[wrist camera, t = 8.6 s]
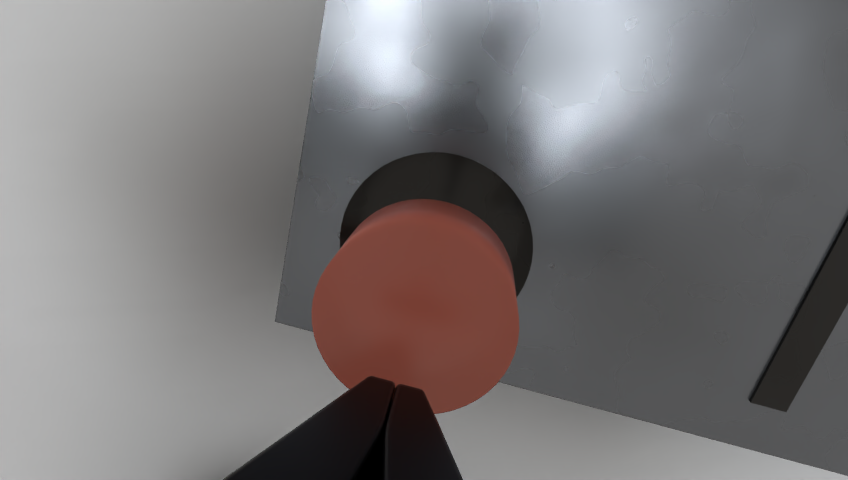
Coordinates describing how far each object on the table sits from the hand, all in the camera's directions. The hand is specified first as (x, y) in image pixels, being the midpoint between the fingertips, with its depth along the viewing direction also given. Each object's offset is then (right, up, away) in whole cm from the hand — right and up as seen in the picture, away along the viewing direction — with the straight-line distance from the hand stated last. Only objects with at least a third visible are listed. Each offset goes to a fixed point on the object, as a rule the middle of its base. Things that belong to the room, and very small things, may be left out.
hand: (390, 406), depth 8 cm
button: (0, +1, +4) cm, 4 cm away
